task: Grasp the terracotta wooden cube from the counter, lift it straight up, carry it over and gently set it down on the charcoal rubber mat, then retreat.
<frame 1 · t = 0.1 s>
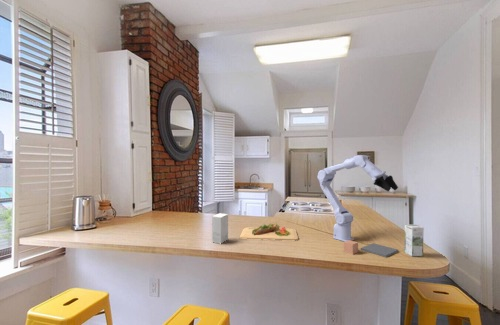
hand: (393, 189, 127), 32 cm above the worktop, tool tilted 50°, fingers open, 7 cm apart
cutting board: (268, 235, 160), on the worktop
mat: (379, 250, 130), on the worktop
cube: (350, 252, 128), on the worktop
syrup box: (413, 255, 124), on the worktop
skincare box: (220, 241, 146), on the worktop
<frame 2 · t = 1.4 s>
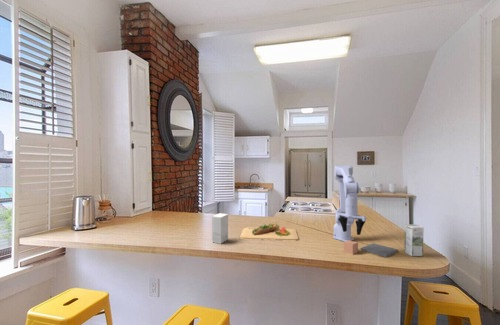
hand: (351, 232, 128), 10 cm above the worktop, tool pointing down, fingers open, 7 cm apart
nothing on the worktop moved.
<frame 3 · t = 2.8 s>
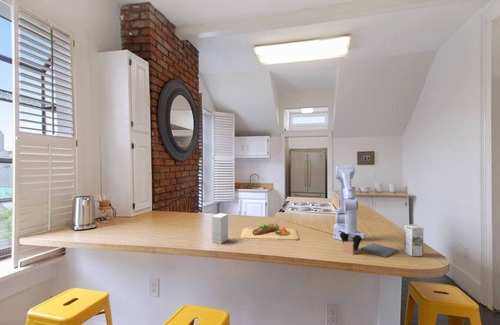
hand: (350, 249, 128), 1 cm above the worktop, tool pointing down, fingers closed on cube, 5 cm apart
cube: (350, 251, 128), on the worktop, touching gripper
everything else where it was.
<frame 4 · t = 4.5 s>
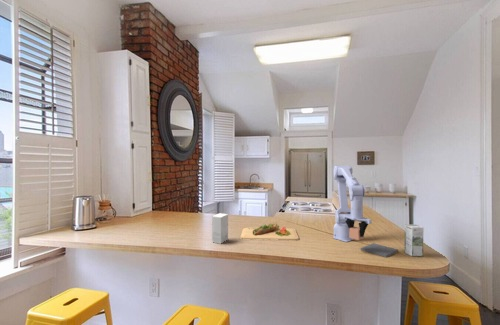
hand: (356, 235, 129), 8 cm above the worktop, tool pointing down, fingers closed on cube, 5 cm apart
cube: (356, 238, 129), point 7 cm above the worktop, touching gripper
everything else where it was.
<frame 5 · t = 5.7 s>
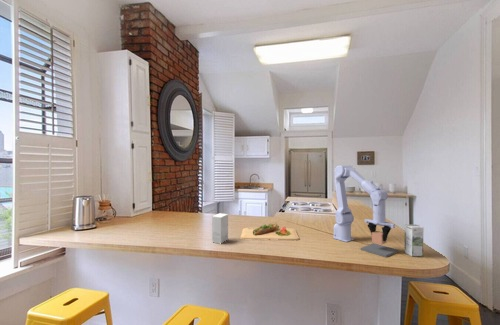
hand: (379, 239, 130), 6 cm above the worktop, tool pointing down, fingers closed on cube, 5 cm apart
cube: (379, 242, 130), point 4 cm above the worktop, touching gripper
everything else where it was.
when the fingers open (4 cm above the worktop, at t = 6.5 s): cube drops 1 cm, resting on mat.
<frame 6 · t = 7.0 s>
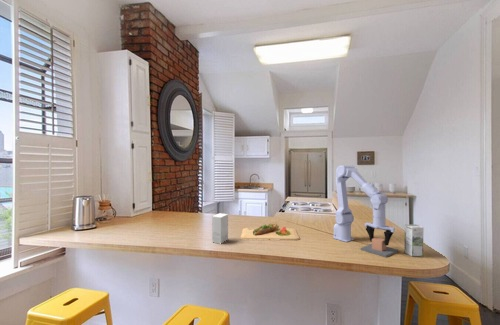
hand: (379, 243, 130), 4 cm above the worktop, tool pointing down, fingers open, 7 cm apart
cube: (379, 248, 130), point 1 cm above the worktop, touching mat
everything else where it was.
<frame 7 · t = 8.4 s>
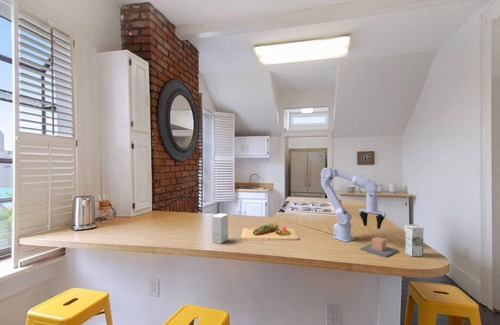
hand: (371, 227, 141), 9 cm above the worktop, tool pointing down, fingers open, 7 cm apart
nothing on the worktop moved.
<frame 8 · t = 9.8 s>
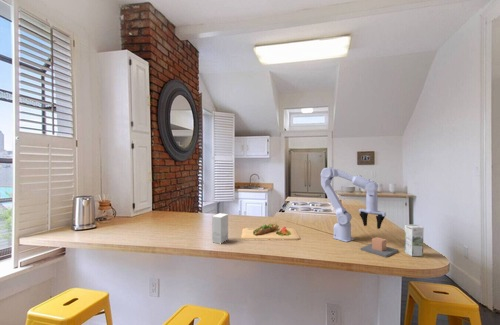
hand: (371, 227, 141), 9 cm above the worktop, tool pointing down, fingers open, 7 cm apart
at the end: cube inside the target area on the mat (0.1 cm from its centre), point 1.0 cm above the mat's base; cube tilted 0°; the gripper is holding nothing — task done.
